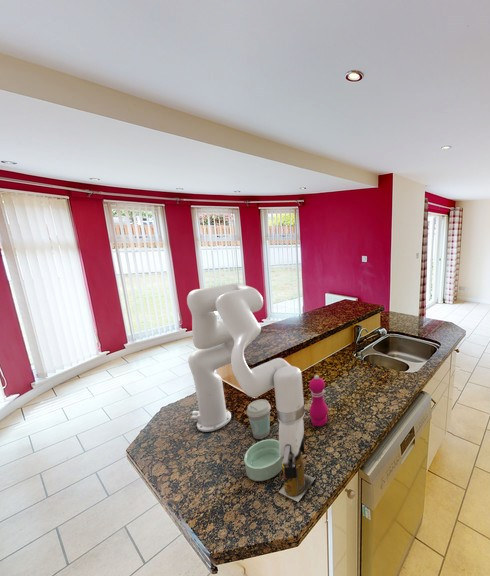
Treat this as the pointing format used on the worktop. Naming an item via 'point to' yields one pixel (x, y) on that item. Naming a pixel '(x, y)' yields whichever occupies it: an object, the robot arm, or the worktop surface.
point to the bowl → (263, 460)
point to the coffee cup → (259, 418)
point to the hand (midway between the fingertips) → (295, 463)
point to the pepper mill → (318, 402)
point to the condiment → (296, 480)
